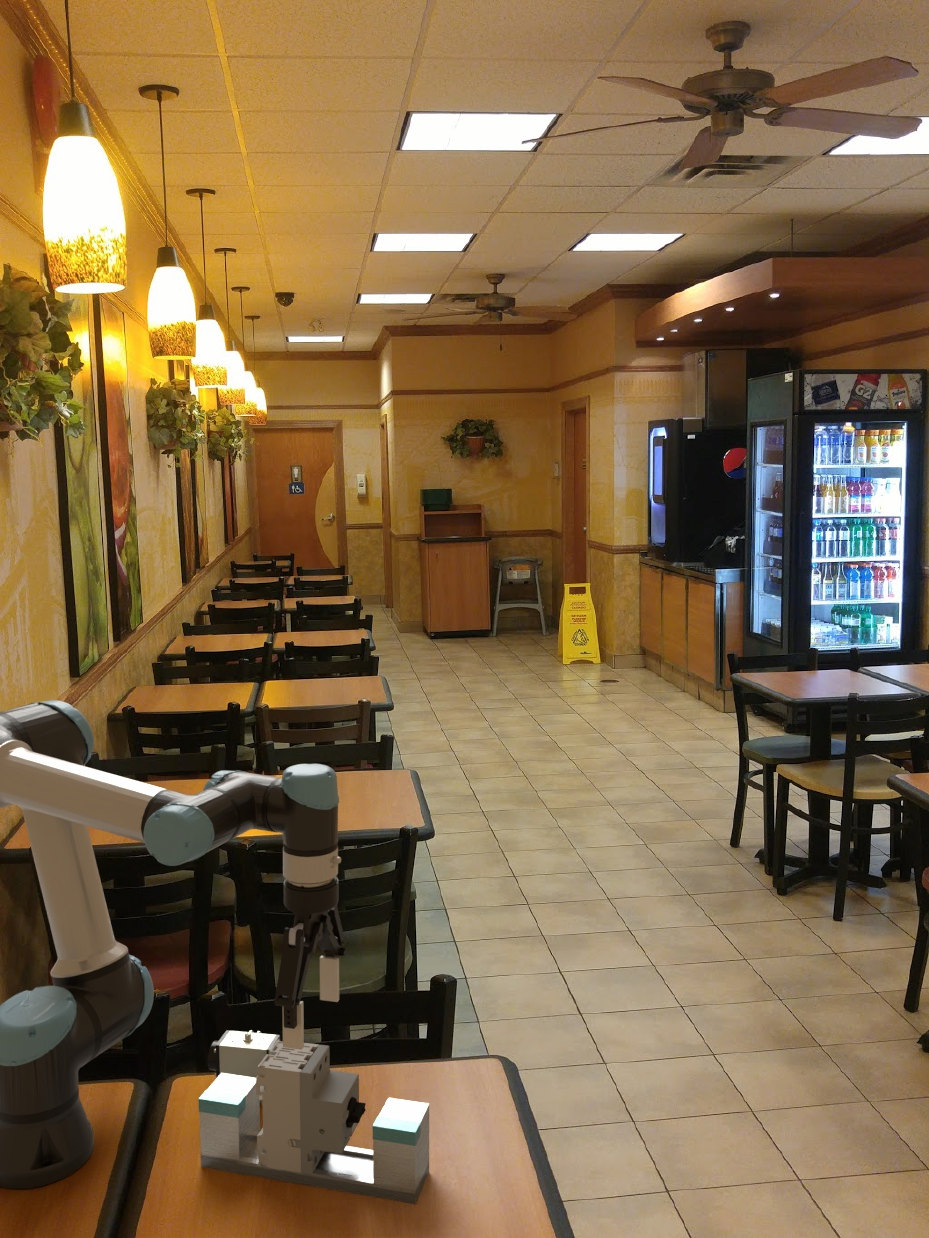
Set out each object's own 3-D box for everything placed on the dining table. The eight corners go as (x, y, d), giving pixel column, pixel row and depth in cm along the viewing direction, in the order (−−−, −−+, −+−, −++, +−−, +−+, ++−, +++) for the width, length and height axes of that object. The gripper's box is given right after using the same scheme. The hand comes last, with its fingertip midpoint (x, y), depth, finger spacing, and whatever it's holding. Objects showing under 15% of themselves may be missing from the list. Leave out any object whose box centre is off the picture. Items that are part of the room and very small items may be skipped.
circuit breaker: (354, 1180, 150) (353, 1079, 148) (257, 1165, 153) (255, 1066, 151) (370, 1147, 157) (370, 1050, 155) (277, 1134, 160) (276, 1039, 158)
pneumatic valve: (280, 1116, 168) (279, 1044, 166) (208, 1109, 170) (206, 1037, 168) (291, 1096, 173) (290, 1026, 172) (221, 1089, 175) (219, 1019, 173)
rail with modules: (200, 1167, 155) (198, 1098, 154) (222, 1138, 162) (221, 1072, 161) (415, 1204, 148) (415, 1132, 146) (429, 1172, 155) (429, 1102, 153)
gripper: (301, 915, 136) (303, 1073, 139) (366, 849, 160) (366, 985, 163) (246, 909, 138) (249, 1065, 141) (318, 845, 162) (319, 979, 165)
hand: (312, 1022), depth 152 cm, fingers open, 13 cm apart
